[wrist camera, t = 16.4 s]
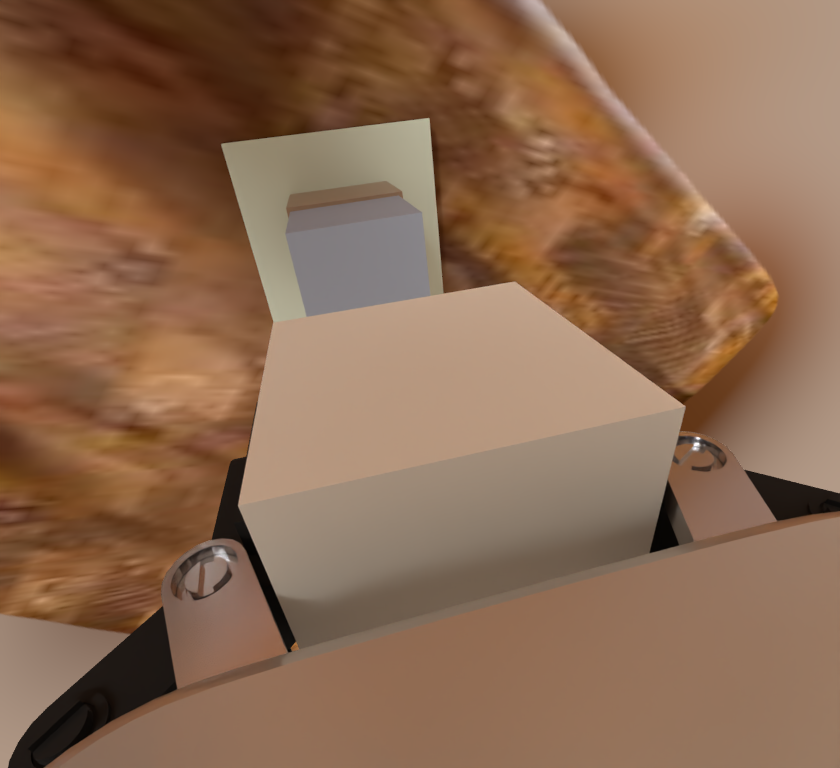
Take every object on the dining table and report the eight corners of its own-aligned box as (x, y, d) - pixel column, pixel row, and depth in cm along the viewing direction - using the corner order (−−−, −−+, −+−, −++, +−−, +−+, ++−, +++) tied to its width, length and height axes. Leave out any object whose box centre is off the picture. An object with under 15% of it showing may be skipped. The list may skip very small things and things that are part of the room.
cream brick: (273, 322, 10) (237, 505, 5) (515, 281, 11) (685, 407, 6) (325, 505, 13) (335, 733, 8) (513, 463, 14) (626, 647, 9)
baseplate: (224, 143, 28) (200, 147, 22) (425, 118, 30) (455, 115, 24) (279, 332, 35) (273, 375, 28) (440, 303, 36) (467, 338, 30)
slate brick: (290, 211, 24) (285, 233, 19) (398, 195, 25) (421, 212, 20) (315, 315, 27) (317, 358, 22) (411, 297, 28) (434, 335, 23)
